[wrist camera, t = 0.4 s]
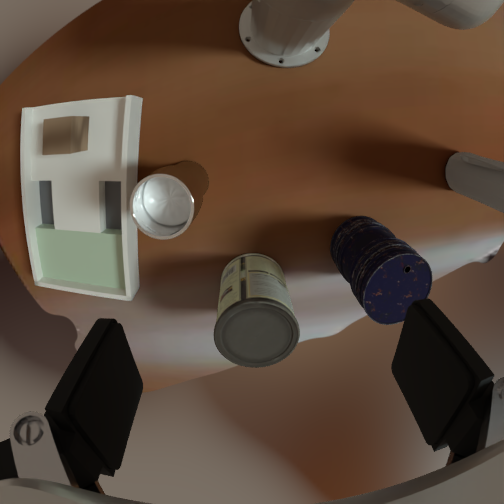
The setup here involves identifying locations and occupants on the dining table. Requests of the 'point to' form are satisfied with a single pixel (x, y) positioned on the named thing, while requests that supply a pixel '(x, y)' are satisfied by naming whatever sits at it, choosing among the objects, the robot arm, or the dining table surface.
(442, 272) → the dining table surface
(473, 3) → the robot arm
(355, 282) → the storage jar
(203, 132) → the dining table surface
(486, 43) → the dining table surface
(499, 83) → the dining table surface
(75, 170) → the box
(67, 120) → the walnut block
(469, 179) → the water bottle
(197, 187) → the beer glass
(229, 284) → the coffee can
